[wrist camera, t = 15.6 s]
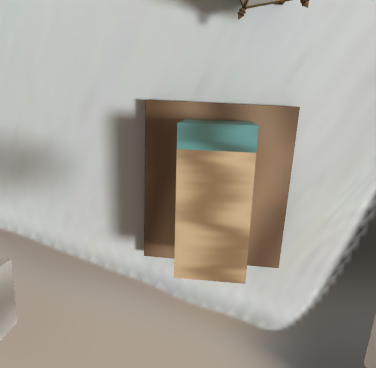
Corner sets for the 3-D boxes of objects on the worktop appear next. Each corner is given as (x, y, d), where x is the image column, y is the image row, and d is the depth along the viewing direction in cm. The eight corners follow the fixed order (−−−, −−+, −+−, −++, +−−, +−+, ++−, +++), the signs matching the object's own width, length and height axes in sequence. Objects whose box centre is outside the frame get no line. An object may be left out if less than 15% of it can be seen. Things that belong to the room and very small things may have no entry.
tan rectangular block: (240, 251, 32) (251, 121, 28) (245, 283, 26) (258, 125, 23) (182, 246, 32) (186, 119, 29) (174, 277, 26) (177, 122, 23)
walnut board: (146, 250, 34) (144, 255, 33) (148, 100, 30) (145, 99, 29) (276, 262, 33) (278, 268, 32) (296, 106, 29) (299, 106, 28)
